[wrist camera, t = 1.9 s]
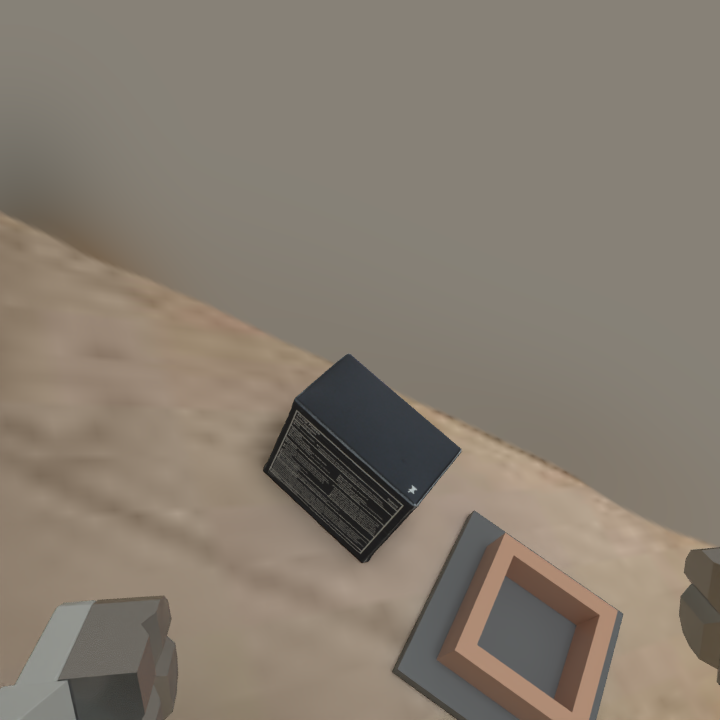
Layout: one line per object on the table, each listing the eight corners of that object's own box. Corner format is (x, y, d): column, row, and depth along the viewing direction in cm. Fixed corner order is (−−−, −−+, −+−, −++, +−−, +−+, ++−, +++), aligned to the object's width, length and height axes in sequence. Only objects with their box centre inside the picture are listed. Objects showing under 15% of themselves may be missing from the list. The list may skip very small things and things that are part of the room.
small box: (411, 508, 52) (468, 448, 44) (363, 567, 48) (417, 512, 40) (313, 420, 54) (351, 347, 46) (259, 470, 50) (290, 399, 42)
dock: (392, 672, 44) (414, 659, 41) (468, 515, 53) (491, 495, 50) (567, 798, 43) (603, 795, 40) (615, 617, 52) (648, 603, 49)
